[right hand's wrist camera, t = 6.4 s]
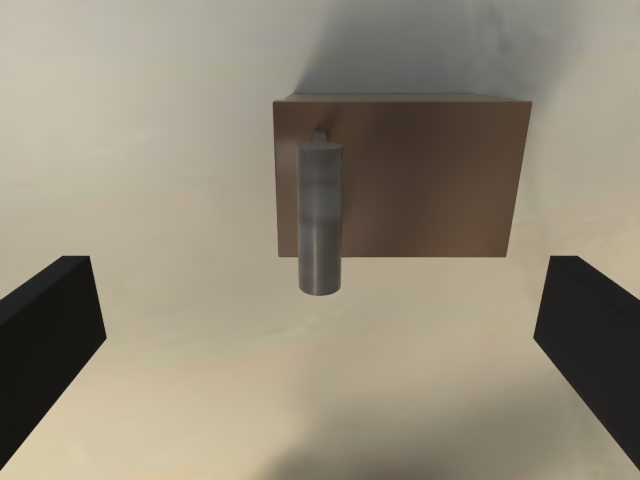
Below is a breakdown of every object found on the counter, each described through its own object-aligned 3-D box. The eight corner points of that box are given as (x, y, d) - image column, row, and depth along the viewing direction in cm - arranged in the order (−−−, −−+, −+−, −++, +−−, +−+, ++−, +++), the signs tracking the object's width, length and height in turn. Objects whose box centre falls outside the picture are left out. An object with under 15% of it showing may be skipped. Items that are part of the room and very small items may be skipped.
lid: (280, 249, 28) (263, 321, 20) (274, 100, 25) (252, 114, 17) (498, 249, 28) (571, 322, 20) (522, 100, 25) (621, 114, 17)
